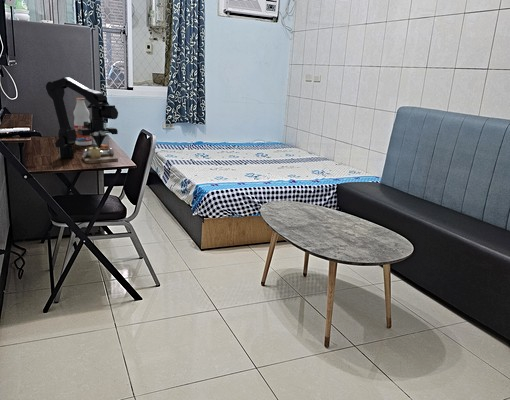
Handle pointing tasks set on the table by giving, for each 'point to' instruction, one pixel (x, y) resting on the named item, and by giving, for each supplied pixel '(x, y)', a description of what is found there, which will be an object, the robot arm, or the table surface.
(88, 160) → the valve board
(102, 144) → the valve lever
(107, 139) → the medicine box
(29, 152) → the table surface
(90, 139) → the fruit juice
